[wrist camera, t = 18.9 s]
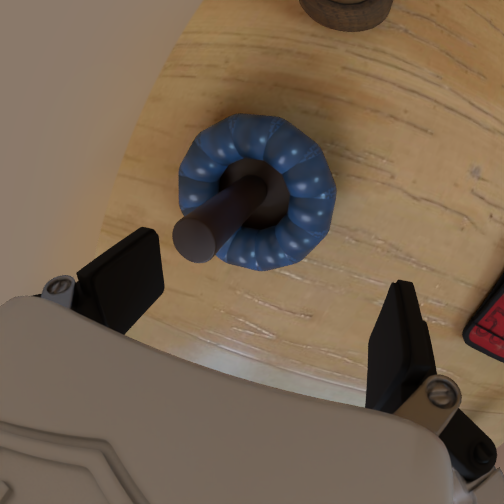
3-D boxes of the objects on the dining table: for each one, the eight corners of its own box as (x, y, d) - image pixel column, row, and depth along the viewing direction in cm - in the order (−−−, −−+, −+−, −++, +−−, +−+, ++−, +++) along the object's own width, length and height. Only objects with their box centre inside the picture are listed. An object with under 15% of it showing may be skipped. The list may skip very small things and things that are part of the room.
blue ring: (193, 110, 19) (171, 112, 17) (347, 126, 17) (347, 128, 14) (191, 241, 25) (174, 257, 22) (319, 271, 22) (315, 292, 20)
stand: (210, 132, 21) (122, 154, 12) (313, 142, 19) (284, 167, 11) (209, 224, 25) (139, 288, 16) (300, 241, 23) (267, 325, 14)
